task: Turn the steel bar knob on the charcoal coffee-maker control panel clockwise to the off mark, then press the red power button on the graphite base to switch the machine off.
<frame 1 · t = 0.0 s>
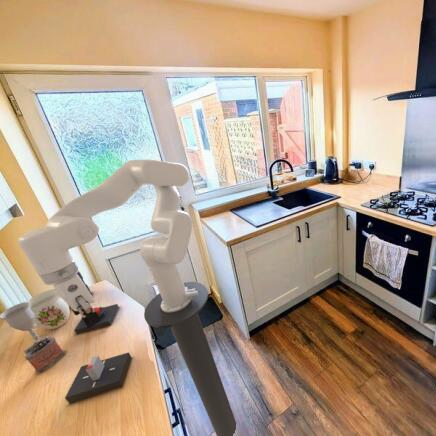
hand: (87, 317, 74), 21 cm above the countertop, tool pointing down, fingers open, 9 cm apart
storage jar: (79, 299, 115), on the countertop
control panel: (103, 379, 77), on the countertop
power button: (94, 312, 99), point 4 cm above the countertop, slide at 0.1 cm
pitcher: (55, 324, 102), on the countertop
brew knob: (95, 367, 75), point 6 cm above the countertop, hinge at 90.0°
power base: (99, 320, 101), on the countertop
brick-red planter box: (51, 362, 85), on the countertop
chalice: (42, 345, 92), on the countertop
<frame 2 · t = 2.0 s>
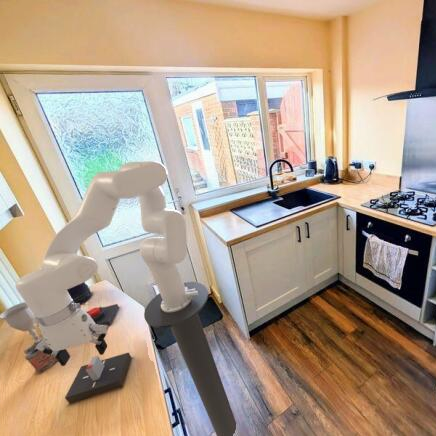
hand: (85, 356, 72), 12 cm above the countertop, tool pointing down, fingers open, 9 cm apart
nothing on the countertop moved.
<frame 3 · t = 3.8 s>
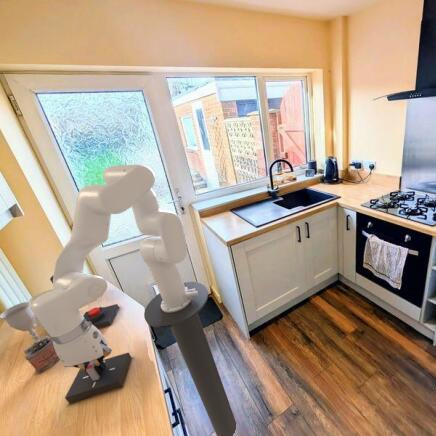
hand: (98, 372, 76), 4 cm above the countertop, tool pointing down, fingers closed on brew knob
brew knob: (95, 367, 75), point 6 cm above the countertop, hinge at 90.0°, touching gripper
everything else where it was.
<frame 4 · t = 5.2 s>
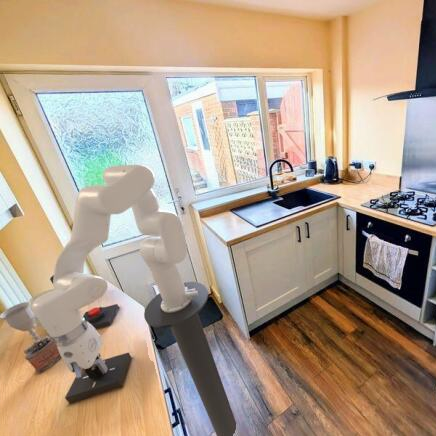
hand: (98, 372, 76), 3 cm above the countertop, tool pointing down, fingers closed
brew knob: (95, 367, 75), point 6 cm above the countertop, hinge at 0.0°
everything else where it was.
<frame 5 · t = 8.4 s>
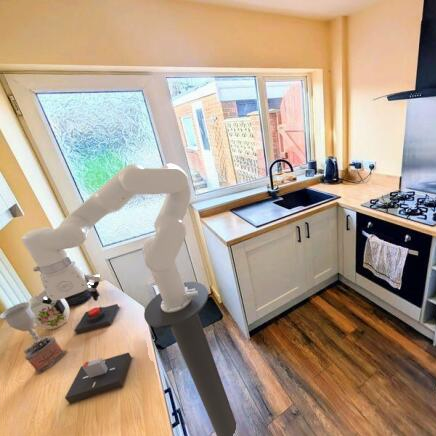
hand: (80, 304, 86), 16 cm above the countertop, tool pointing down, fingers open, 9 cm apart
nothing on the countertop moved.
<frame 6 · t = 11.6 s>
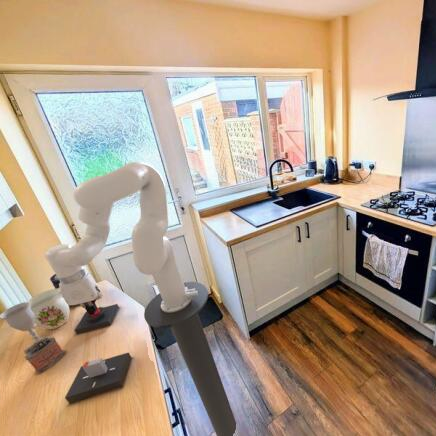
hand: (93, 312, 99), 5 cm above the countertop, tool pointing down, fingers closed
power button: (95, 313, 100), point 4 cm above the countertop, slide at -0.7 cm, touching gripper
everything else where it was.
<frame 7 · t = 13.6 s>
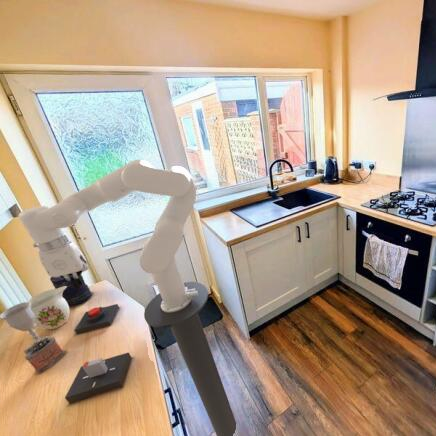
hand: (80, 286, 89), 21 cm above the countertop, tool pointing down, fingers closed
power button: (94, 312, 99), point 4 cm above the countertop, slide at 0.1 cm
everything else where it was.
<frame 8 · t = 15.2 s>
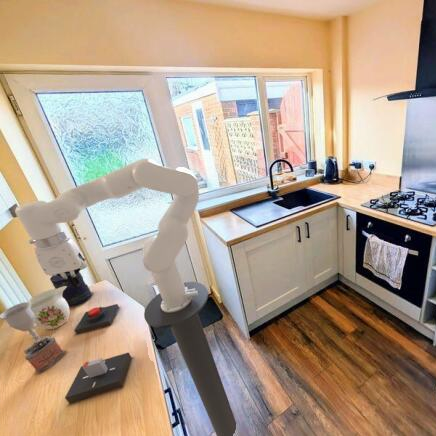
hand: (77, 284, 86), 23 cm above the countertop, tool pointing down, fingers closed
nothing on the countertop moved.
at the end: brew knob at +0° (first picture: +90°); power button pushed in 1.1 cm at the most during the clip, back to where it started at the end; power button slide at 0.1 cm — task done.
